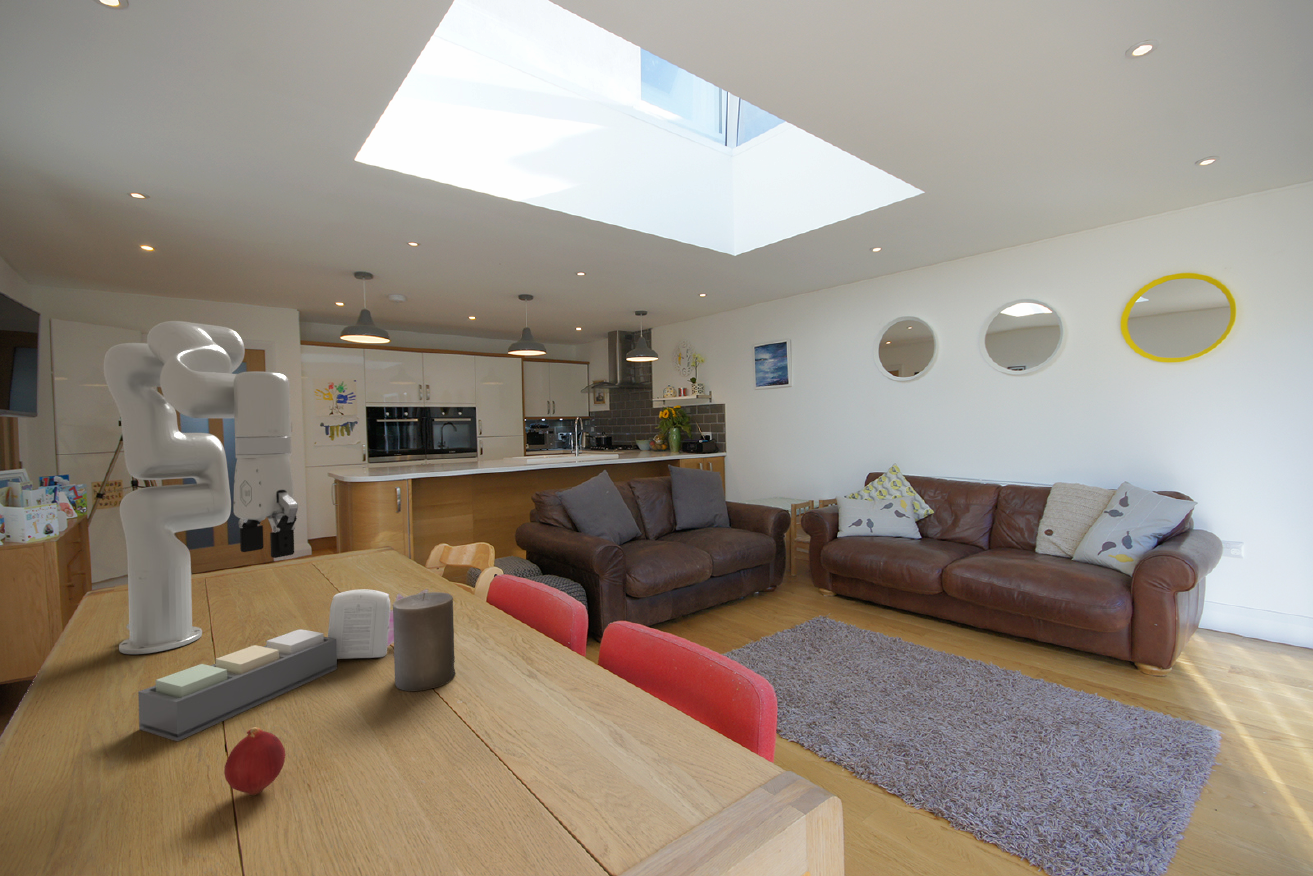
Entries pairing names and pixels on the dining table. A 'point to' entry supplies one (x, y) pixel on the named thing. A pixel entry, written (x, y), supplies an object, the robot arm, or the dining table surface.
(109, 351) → the robot arm
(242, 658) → the key sand
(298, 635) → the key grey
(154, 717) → the grey compartment tray
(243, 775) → the onion
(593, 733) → the dining table surface
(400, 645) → the pillar candle
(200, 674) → the key sage
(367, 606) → the photo printer
